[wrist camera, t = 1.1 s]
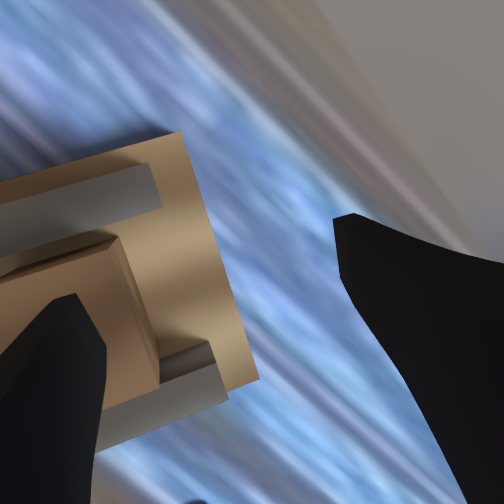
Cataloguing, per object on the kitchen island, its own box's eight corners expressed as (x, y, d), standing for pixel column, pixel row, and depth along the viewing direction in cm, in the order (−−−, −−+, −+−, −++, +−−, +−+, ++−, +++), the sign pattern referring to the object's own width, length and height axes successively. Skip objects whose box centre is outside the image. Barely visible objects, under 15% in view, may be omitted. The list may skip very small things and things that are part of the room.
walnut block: (158, 344, 22) (159, 388, 17) (62, 379, 21) (34, 436, 16) (118, 236, 21) (107, 249, 16) (14, 269, 20) (-32, 293, 15)
